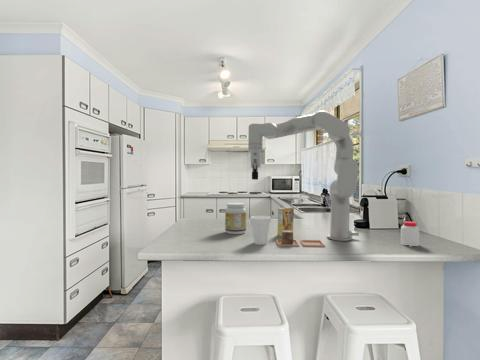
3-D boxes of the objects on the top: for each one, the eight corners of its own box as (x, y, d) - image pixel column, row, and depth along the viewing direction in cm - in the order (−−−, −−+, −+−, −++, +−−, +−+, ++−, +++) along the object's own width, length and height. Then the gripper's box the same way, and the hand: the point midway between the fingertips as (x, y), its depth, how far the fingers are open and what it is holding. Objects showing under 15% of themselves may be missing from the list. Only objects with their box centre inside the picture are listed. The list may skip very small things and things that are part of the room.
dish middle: (296, 242, 147) (296, 239, 147) (299, 247, 137) (299, 244, 137) (276, 241, 147) (276, 239, 147) (277, 246, 137) (277, 244, 137)
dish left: (320, 242, 146) (320, 240, 146) (325, 247, 136) (325, 245, 136) (300, 242, 146) (300, 239, 146) (303, 247, 137) (303, 244, 136)
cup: (273, 242, 145) (274, 216, 144) (265, 247, 136) (266, 219, 136) (255, 240, 150) (255, 215, 149) (246, 244, 141) (246, 217, 140)
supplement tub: (223, 230, 173) (223, 202, 173) (243, 230, 176) (243, 201, 175) (227, 235, 161) (227, 204, 161) (248, 234, 164) (248, 204, 164)
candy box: (287, 233, 166) (288, 206, 166) (293, 235, 163) (294, 207, 163) (277, 235, 161) (277, 208, 160) (282, 237, 157) (283, 208, 157)
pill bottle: (416, 243, 146) (417, 221, 145) (420, 247, 138) (421, 224, 138) (399, 242, 148) (399, 220, 148) (402, 245, 141) (402, 223, 141)
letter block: (291, 242, 144) (292, 230, 144) (293, 245, 139) (293, 232, 139) (281, 242, 145) (281, 229, 144) (282, 244, 140) (282, 232, 139)
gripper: (262, 145, 147) (262, 179, 148) (262, 148, 165) (261, 178, 165) (247, 145, 148) (247, 179, 148) (248, 148, 165) (248, 178, 166)
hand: (255, 179), depth 157 cm, fingers open, 9 cm apart
